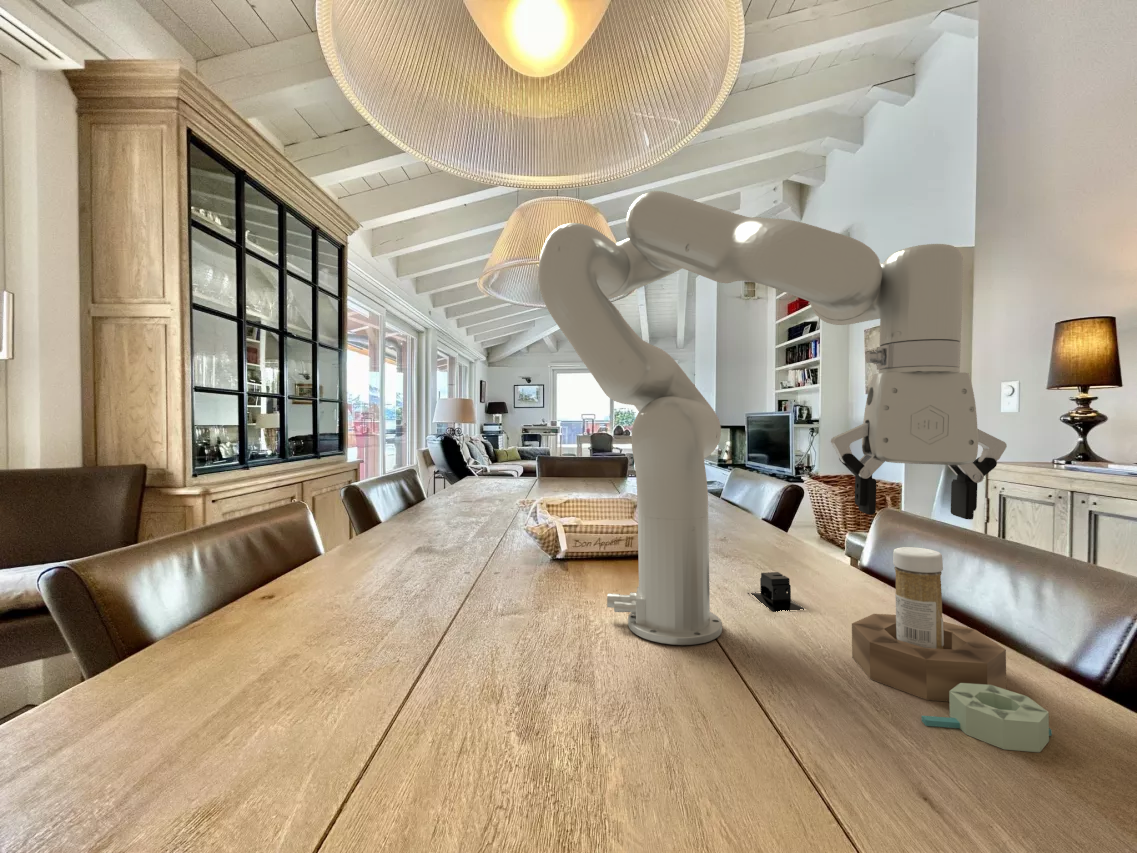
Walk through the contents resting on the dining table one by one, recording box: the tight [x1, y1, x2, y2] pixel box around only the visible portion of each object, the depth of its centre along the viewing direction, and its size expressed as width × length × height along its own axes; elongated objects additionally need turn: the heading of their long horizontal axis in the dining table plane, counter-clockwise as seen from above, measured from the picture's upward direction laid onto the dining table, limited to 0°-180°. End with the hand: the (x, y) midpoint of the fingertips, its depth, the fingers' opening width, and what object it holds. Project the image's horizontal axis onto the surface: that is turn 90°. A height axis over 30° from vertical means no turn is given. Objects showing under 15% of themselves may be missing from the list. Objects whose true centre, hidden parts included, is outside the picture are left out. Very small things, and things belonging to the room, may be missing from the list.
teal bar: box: [920, 714, 1053, 737], centre depth 47 cm, size 10×1×1 cm, turn 80°
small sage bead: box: [949, 683, 1050, 753], centre depth 47 cm, size 6×6×2 cm
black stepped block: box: [751, 571, 805, 613], centre depth 82 cm, size 12×7×5 cm, turn 5°
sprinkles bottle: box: [892, 546, 944, 649], centre depth 58 cm, size 5×5×14 cm
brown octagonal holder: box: [851, 613, 1007, 703], centre depth 58 cm, size 13×13×4 cm
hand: (913, 514), depth 58 cm, fingers open, 9 cm apart
